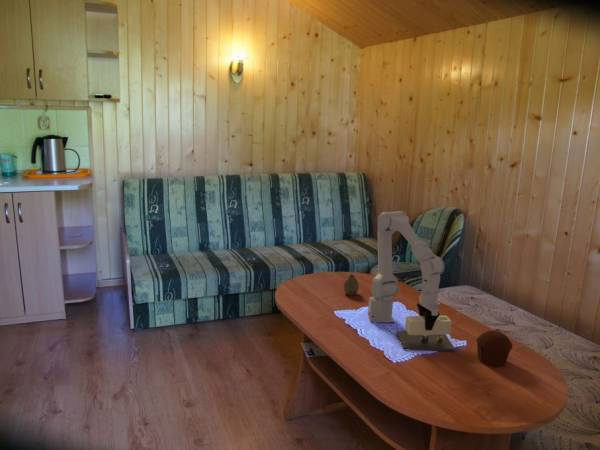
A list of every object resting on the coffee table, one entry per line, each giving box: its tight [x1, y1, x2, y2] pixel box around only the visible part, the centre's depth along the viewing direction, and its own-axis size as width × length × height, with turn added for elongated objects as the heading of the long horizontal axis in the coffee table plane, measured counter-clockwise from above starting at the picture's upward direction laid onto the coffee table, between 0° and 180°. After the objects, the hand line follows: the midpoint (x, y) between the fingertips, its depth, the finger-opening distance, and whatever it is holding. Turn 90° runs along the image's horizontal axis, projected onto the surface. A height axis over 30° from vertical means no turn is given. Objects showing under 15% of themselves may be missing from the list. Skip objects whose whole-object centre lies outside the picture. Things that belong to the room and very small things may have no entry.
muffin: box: [476, 330, 513, 368], centre depth 168 cm, size 12×11×10 cm
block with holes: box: [404, 315, 452, 335], centre depth 179 cm, size 15×5×5 cm, turn 95°
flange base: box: [396, 330, 456, 353], centre depth 180 cm, size 18×13×4 cm
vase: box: [343, 274, 360, 296], centre depth 225 cm, size 7×7×9 cm
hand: (426, 326), depth 179 cm, fingers closed on block with holes, 5 cm apart
